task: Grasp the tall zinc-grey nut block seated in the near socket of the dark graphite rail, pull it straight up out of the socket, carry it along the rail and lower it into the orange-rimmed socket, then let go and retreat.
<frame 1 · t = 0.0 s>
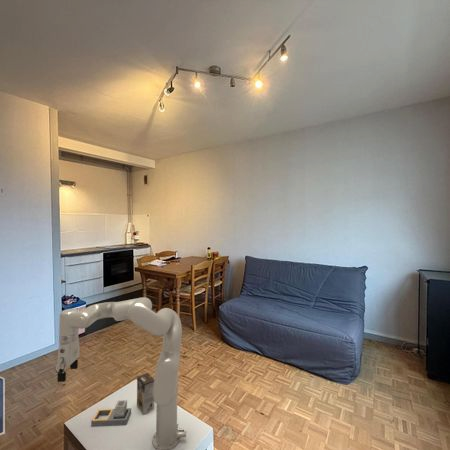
hand: (68, 374, 111), 31 cm above the table, fingers open, 9 cm apart
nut: (120, 419, 126), resting in rail
coffee box: (145, 408, 134), on the table
rail: (111, 419, 125), on the table
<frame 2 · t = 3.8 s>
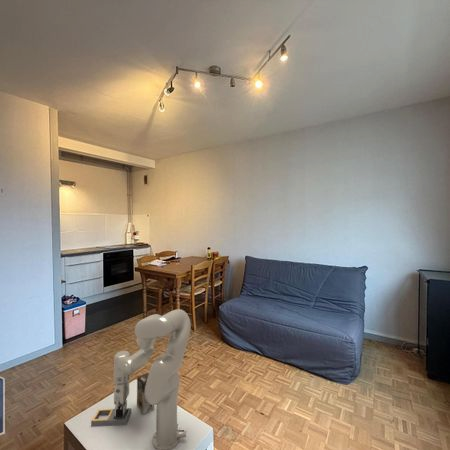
hand: (121, 412, 126), 3 cm above the table, fingers closed on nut, 4 cm apart
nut: (120, 419, 126), resting in rail, touching gripper
everything else where it was.
when the fingers open (4 cm above the table, at t = 7.5 s): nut stays where it is, resting in rail.
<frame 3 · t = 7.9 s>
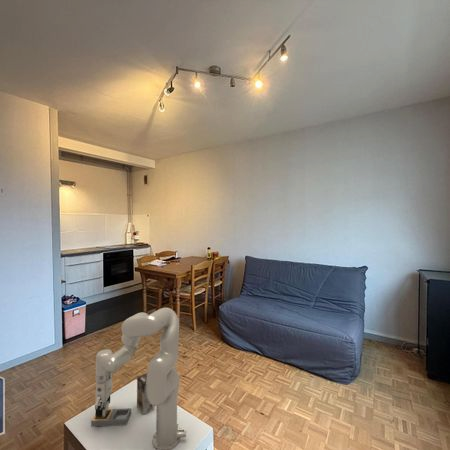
hand: (103, 409, 125), 5 cm above the table, fingers open, 9 cm apart
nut: (102, 419, 125), resting in rail
everything else where it was.
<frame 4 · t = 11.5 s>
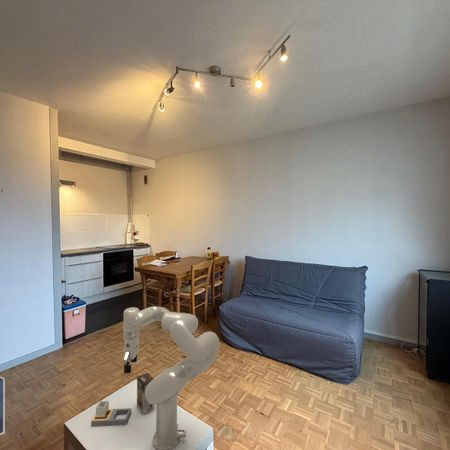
hand: (130, 367, 123), 28 cm above the table, fingers open, 9 cm apart
nothing on the table moved.
at the end: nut 0.4 cm from the target spot on the rail, point 0.0 cm above the rail's base; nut tilted 0°; the gripper is holding nothing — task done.
